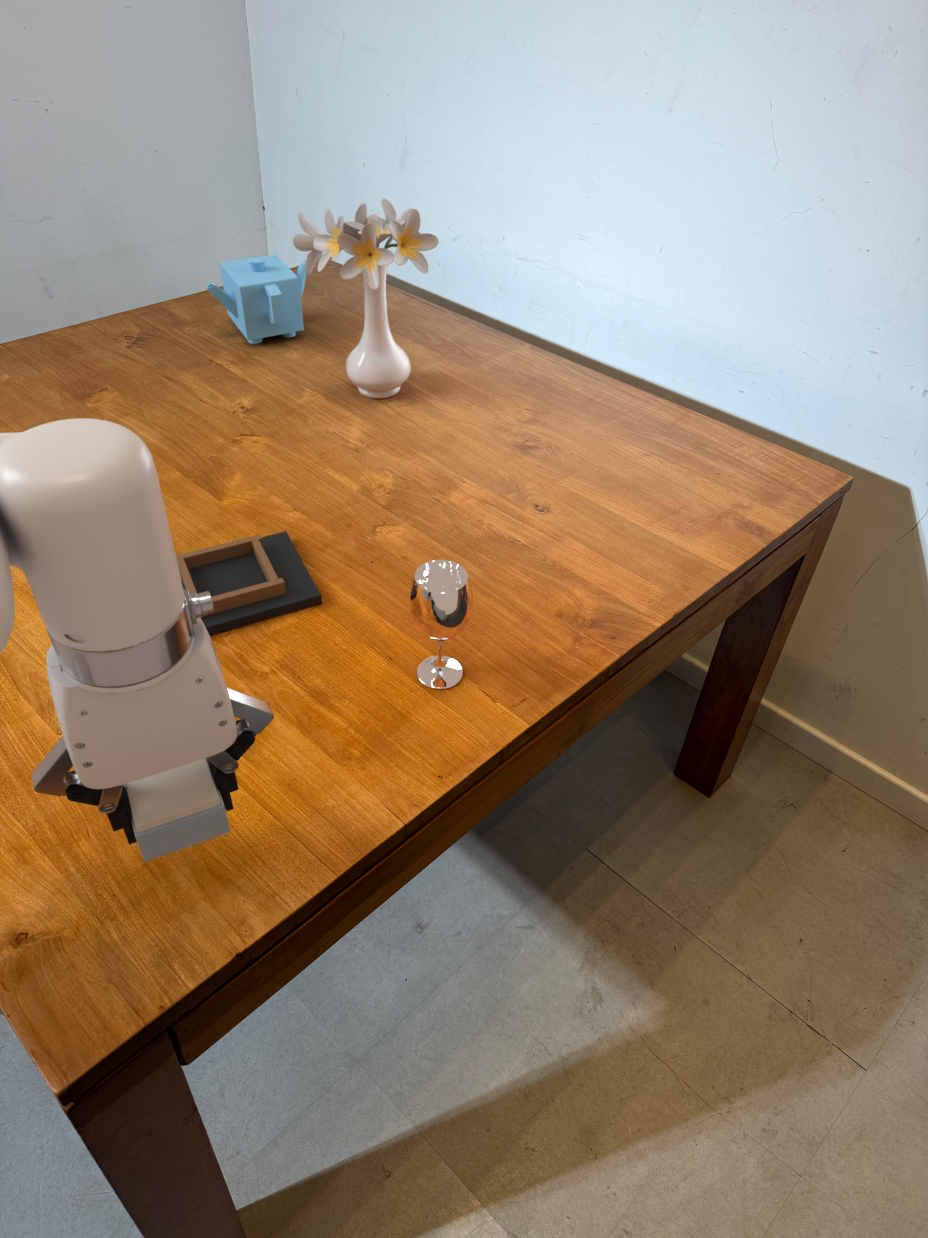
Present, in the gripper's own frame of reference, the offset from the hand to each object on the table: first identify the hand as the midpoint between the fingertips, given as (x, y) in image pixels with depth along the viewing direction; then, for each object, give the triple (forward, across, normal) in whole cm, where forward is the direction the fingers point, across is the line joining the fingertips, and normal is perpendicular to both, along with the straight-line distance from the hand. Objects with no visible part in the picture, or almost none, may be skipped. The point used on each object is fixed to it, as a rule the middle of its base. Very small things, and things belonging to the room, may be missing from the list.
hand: (177, 809), depth 60 cm
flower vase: (+5, -41, -65) cm, 77 cm away
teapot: (+6, -33, -90) cm, 96 cm away
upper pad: (+1, 0, 0) cm, 1 cm away
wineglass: (+6, -26, -10) cm, 28 cm away
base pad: (+6, -11, -30) cm, 32 cm away
